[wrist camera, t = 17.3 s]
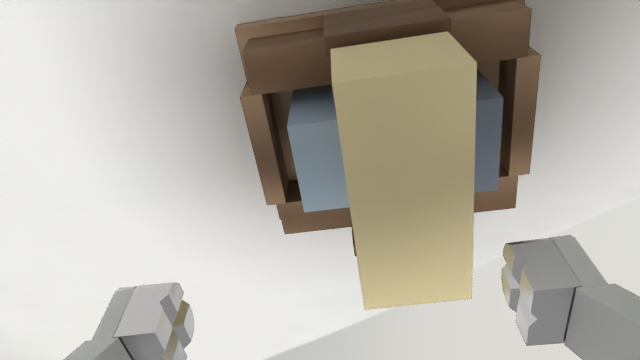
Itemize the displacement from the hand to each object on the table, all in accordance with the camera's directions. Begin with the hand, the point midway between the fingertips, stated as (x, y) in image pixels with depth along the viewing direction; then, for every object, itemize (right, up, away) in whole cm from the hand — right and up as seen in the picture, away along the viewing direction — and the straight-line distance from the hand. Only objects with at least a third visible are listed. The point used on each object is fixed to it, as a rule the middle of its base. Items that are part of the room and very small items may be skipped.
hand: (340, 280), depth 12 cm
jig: (+3, +6, +11) cm, 12 cm away
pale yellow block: (+3, +4, +6) cm, 8 cm away
